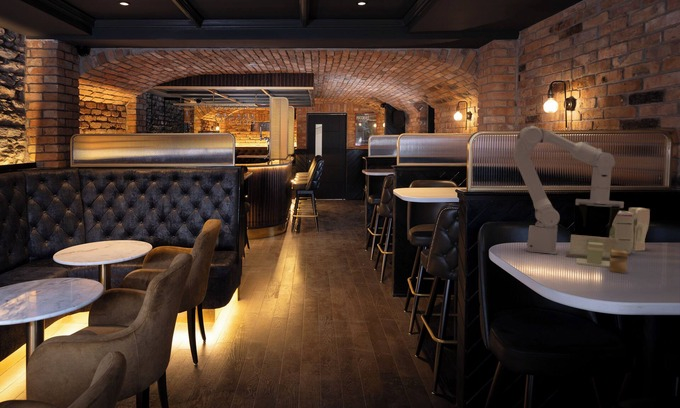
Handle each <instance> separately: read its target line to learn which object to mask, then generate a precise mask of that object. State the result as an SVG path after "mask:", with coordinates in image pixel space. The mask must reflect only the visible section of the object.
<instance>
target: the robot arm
mask: <svg viewBox="0 0 680 408" xmlns="http://www.w3.org/2000/svg"><path fill="white" fill-rule="evenodd" d="M541 143H543V144H545V143H546V144H547V143H548V144H551V145H553V146H555V147H558V148H560V149H563V150H566V151H568V152H570V154H571V157H572V158H574V159H577V160H578V161H580V162H582V163H585V164H588V165H591V166H592V175H591V183H590V184H591V186H590V196H589V198H588V199H587V198H586V199H584V198H583V199H582V198H576V199H575V206H578V209H579V211H580V213H581V217H582V222H583V227H584V228H586V227H587V211H588V206H590V207H591V206H593V207H607V208H610V209H609V221H608V229H609V230H610V229H611V227H612V224H613V221H614V219H615V217H616V215H617V214H618V212H619V211H621V210H620V209H624V204H625V202H624V201H619V200H618V201H617V200H610V192H611V190H610V189H611V181H612V180H611V179H612V168H614V167H615V165H616V161H615V158H614V156H613V155H612V154H611V153H610V152H603V149H602V148H599V147H598V148H596V147H594V146H592V145H590V144H589V142H587V141H584V142H583V141H579V142H574V141H571V140H569V139H567V138H565V137H563V136H561V135H559V134H556V133H555V132H552V131H550V130H547V129H545V128H540V127H538V126H535V125H531V126H525V127H523V128H521V130H519V132H518V134H517V135H516V137H515V144H514V151H513V159H514V161H515V164H516V166H517V168H518V171H519V173H520V175H521V177H522V179H523V182H524V184H525V186H526V189H527V191H528V193H529V195H530V198H531V200H532V203H533V207H534V210H535V213H534V217H535V219H536V220H537V221H536V222H535V225H532V224H531V225H529V227H528V234H527V235H528V236H527V241H526V246H527V248H526V249H527V250H526V251H527V252H531V253H543V254H551V255H557V254H558V248H557V239H558V237H557V236H558V226H559V225H558V224H559V222H560V221H561V220H560V219H561V217H560V213H559V212H558V210H556V209H555V208H554V207H553V205H552V203H551V201H550V200H549V198H548V196H547V193H546V191H545V189H544V186H543V185H542V182H541V180H540V177H539V175H538V172H537V171H536V168H535V166H534V164H533V162H532V159H531V154H533V153H532V152H533V150H534V149H535V147H536V146H537V145H538V144H541Z"/></svg>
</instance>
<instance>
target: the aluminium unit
mask: <svg viewBox="0 0 680 408" xmlns="http://www.w3.org/2000/svg"><path fill="white" fill-rule="evenodd" d="M569 242H570V243H569V251H566V252H565V253H566V254H565V256H566V257H567V258H574V257H575V258H581V259H587V252H588V242H597V243H602V244H603V252H602V261H610V253H611V250H618V242H619V240H618V238H609V237H604V236H603V237H602V236H594V235H593V236H592V235H579V234H571V235H570V241H569Z"/></svg>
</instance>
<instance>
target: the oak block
mask: <svg viewBox="0 0 680 408" xmlns="http://www.w3.org/2000/svg"><path fill="white" fill-rule="evenodd" d="M628 255H629V254H628V253H627V252H626V251H622V250H611V253H610V266H609V267H608V268H609V272H611V273H619V274H626V272H627V265H628V264H627V263H628V262H627V261H628Z"/></svg>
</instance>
